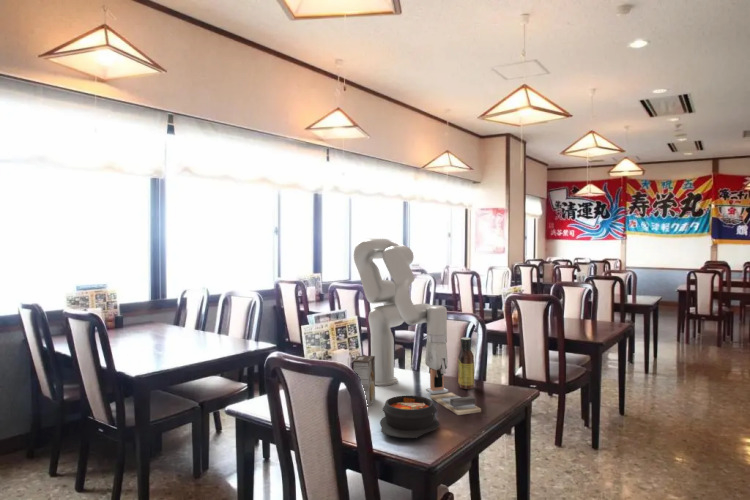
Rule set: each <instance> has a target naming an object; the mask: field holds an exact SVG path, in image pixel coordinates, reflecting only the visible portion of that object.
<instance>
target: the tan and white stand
mask: <svg viewBox="0 0 750 500" xmlns="http://www.w3.org/2000/svg"><path fill="white" fill-rule="evenodd" d="M438 372H439V371H438ZM444 376H445V375H444V374H443V377H442V387H437V388H435V387H434V377H435V370H434V369H430V368H429V379H430V380H429V382H430V383H429V386H430V387H428V388H427V387H426V388H425V391H426V392H427V393H429V394H430V395H438V394H446V393H449V389H447V388H445V386H444V385H445V383H444V381H445V380H444V379H445V377H444Z"/></svg>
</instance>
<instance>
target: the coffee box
mask: <svg viewBox="0 0 750 500" xmlns="http://www.w3.org/2000/svg"><path fill="white" fill-rule="evenodd" d="M353 370H354V371H355V372H356V373H357V374H358V376H359V377H360V379H361V382H362V385H363V388H364V391H365V395H366V400H367V404H368V406H367V407H370V406H371V405H372V403H374V401H375V399H376V385H375V356H371V355H358V356H357V357H356V358H354V360H352V371H353Z"/></svg>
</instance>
